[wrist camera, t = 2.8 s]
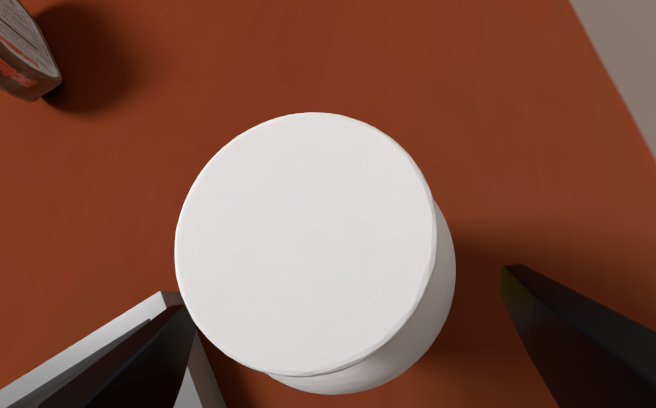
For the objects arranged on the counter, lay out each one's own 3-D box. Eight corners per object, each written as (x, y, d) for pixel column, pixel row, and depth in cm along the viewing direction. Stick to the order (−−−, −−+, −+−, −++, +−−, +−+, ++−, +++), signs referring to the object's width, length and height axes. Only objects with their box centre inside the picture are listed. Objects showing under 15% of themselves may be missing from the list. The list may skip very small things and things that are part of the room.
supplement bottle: (355, 204, 19) (313, 15, 7) (443, 285, 17) (611, 217, 5) (272, 283, 18) (63, 227, 6) (354, 380, 16) (277, 597, 4)
